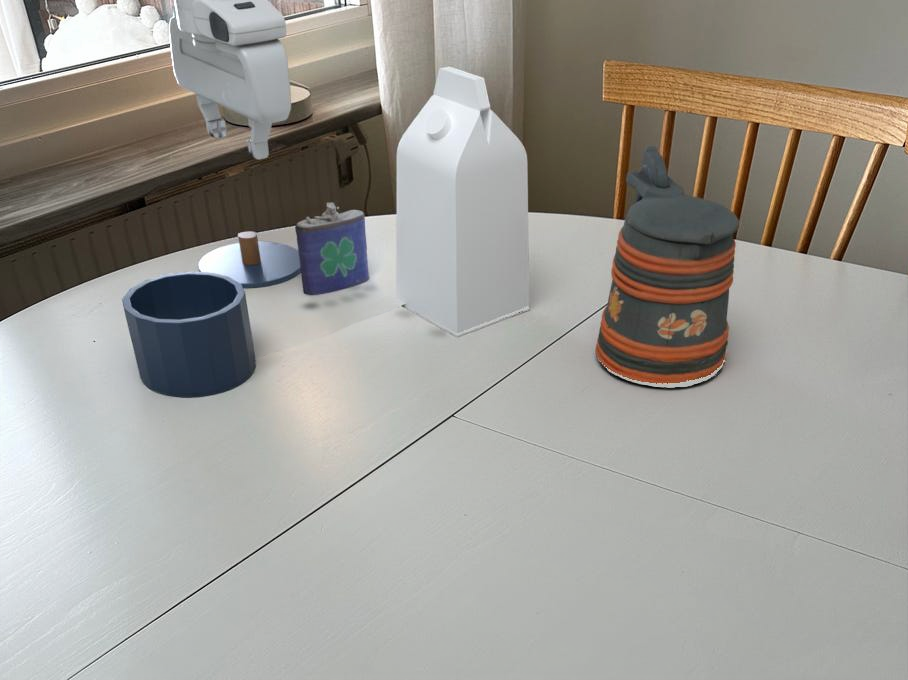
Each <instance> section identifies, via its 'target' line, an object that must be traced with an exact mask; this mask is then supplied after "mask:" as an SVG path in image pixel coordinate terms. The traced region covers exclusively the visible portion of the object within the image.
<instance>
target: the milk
mask: <svg viewBox="0 0 908 680" xmlns="http://www.w3.org/2000/svg"><path fill="white" fill-rule="evenodd" d="M528 172H529V171H528V154H527V151H526V148H525V146H524V145H523V142H522V141H521V140H520V139H519V138H518V137H517V135H516V134H515V133H514V132H513V131H512V130H511V129H510V128H509V127H508V126H507V124H506V123H504V121H502V119H501V118H500V117H499V116H498V114H496V113H495V112H494V111H493V110H492V109H491V104H490V100H489V95H488V89H487V85H486V81H485V77H482V76H480V75H476V74H473V73H470V72H467V71H465V70H462V69H458V68H456V67H452V66H445V67H440V68H439V70H438V73H437V78H436V81H435V85H434V88H433V94H432V95H431V96H430V98H429V99H428V100H427V101H426V103H425V104H424V106H423V107H422V108H421V110H420V112H418V114H417V115H416V117H415V118H414V119H413V121H412V122H411V123H410V125H409V126H408V128H407V129H406V130H405V131H404V133H403V134H402V135H401V138H400V140H399V142H398V145H397V149H396V249H395V251H396V256H395V257H396V261H395V262H396V263H395V264H396V265H395V266H396V269H395V270H396V271H395V273H396V275H395V277H396V280H395V281H396V287H395V289H396V292H395V293H396V294H395V295H396V297H395V298H396V300H397V301H399V302H401V303H403V304H402V305H401V307H403V308H405V309H406V310H408V311H410V312H412V313H414V314H415V315H417V316H419V317H420V318H422V319H424V320H426V321H428V322H430V323H431V324H433V325H435V326H437V327H439V328H440V329H442V330H444V331H446V332H447V333H449V334H451V335H453V336H454V337H457V338H459V337H462V336H464V335H467V334H470V333H472V332H475V331H477V330H480V329H483V328H485V327H488V326H490V325H493V324H496V323H500V322H501V321H504V320H506V319H509V318H512V317H514V316H517V315H520V314H523V313H525V312H528V311H530V308H529V309H528V310H525V311H523V312H520V313H517V314H515V315H512V316H509V317H507V318H504V319H501V320H498V321H496V322H493V323H490V324H488V325H485V326H482V327H480V328H477V329H474V330H472V331H469V332H466V333H464V334H461V335H458V336H457V335H455V334H453V333H451V332H449V331H448V330H446V329H444V328H442V327H441V326H439V325H437V324H435V323H433V322H432V321H430V320H433V321H435V322H437V323H438V324H440V325H442V326H445V327H446V328H448V329H450V330H451V331H454V332H455V333H460V332H463V331H464V330H468V329H470V328H472V327H475V326H478V325H480V324H483V323H485V322H489V321H491V320H494V319H496V318H498V317H501V316H503V315H506V314H509V313H512V312H514V311H517V310H520V309H522V308H524V307H526V306H529V307H530V257H529V256H530V251H529V250H530V249H529V248H530V247H529V246H530V245H529V243H530V242H529V184H528V183H529V182H528V181H529V179H528V178H529V177H528V176H529V175H528V174H529V173H528ZM410 309H411V310H410ZM412 310H413V311H412ZM414 311H415V312H414ZM416 312H417V313H419V314H420V315H419V314H417V313H416ZM421 315H423V316H424V317H423V316H421ZM425 317H427V318H429V319H430V320H428V319H426V318H425Z"/></svg>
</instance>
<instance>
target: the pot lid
mask: <svg viewBox="0 0 908 680" xmlns="http://www.w3.org/2000/svg"><path fill="white" fill-rule="evenodd" d="M237 237H238V242H236V243H231V244H227V245H224V246H220V247H217V248H216V249H213V250H211V251H209V252H208V253H206V254H204V256H202V257H201V258H200V260H199V262H198V272H212V273H216V274H220V275H224V276H229V277H231V278H232V279H234V280H236V281H237V282H239V283H241V284H242V286H243V289H254V288H262V287H269V286H273V285H277V284H281V283H284V282H286V281H289V280H291V279H294V278H295V277H296V276H298V275H299V274H301V270H300V258H299V252H298V248H297V249H296V247H293V246H290V245H288V244H284V243H279V242H273V241H259V238H258V233H257V232H256V231H249V230H248V231H247V230H246V231H242V232H240V233H238V234H237Z"/></svg>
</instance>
